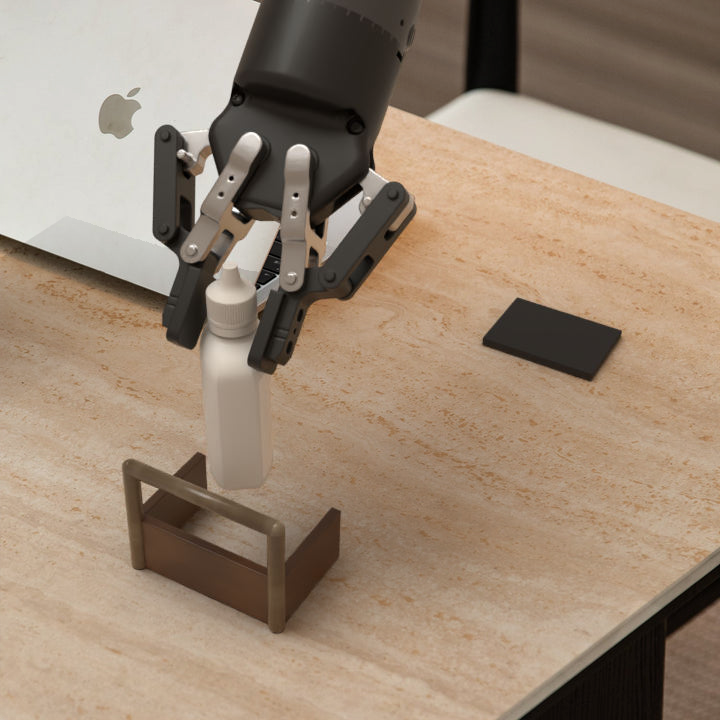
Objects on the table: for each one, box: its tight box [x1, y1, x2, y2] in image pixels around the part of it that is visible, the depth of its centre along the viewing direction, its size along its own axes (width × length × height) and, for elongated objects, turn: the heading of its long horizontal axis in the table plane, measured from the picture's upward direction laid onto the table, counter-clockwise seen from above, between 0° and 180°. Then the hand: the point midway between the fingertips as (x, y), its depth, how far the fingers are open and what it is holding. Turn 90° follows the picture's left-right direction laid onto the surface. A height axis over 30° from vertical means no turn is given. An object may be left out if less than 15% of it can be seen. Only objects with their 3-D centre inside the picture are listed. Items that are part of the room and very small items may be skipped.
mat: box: [481, 297, 623, 382], centre depth 86 cm, size 8×6×1 cm
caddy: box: [121, 451, 342, 634], centre depth 66 cm, size 10×7×7 cm
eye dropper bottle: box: [199, 260, 274, 491], centre depth 62 cm, size 4×6×12 cm
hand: (220, 356), depth 59 cm, fingers closed on eye dropper bottle, 3 cm apart
